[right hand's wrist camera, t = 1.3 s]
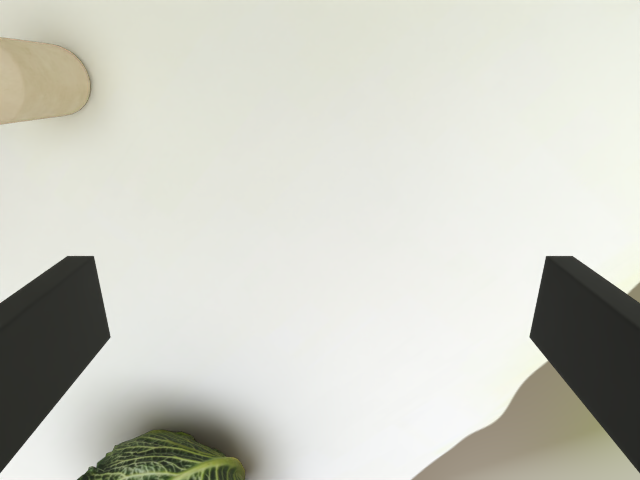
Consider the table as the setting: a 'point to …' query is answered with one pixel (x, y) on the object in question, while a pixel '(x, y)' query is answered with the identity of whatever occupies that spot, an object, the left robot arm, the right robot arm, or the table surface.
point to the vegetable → (165, 460)
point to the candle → (39, 81)
